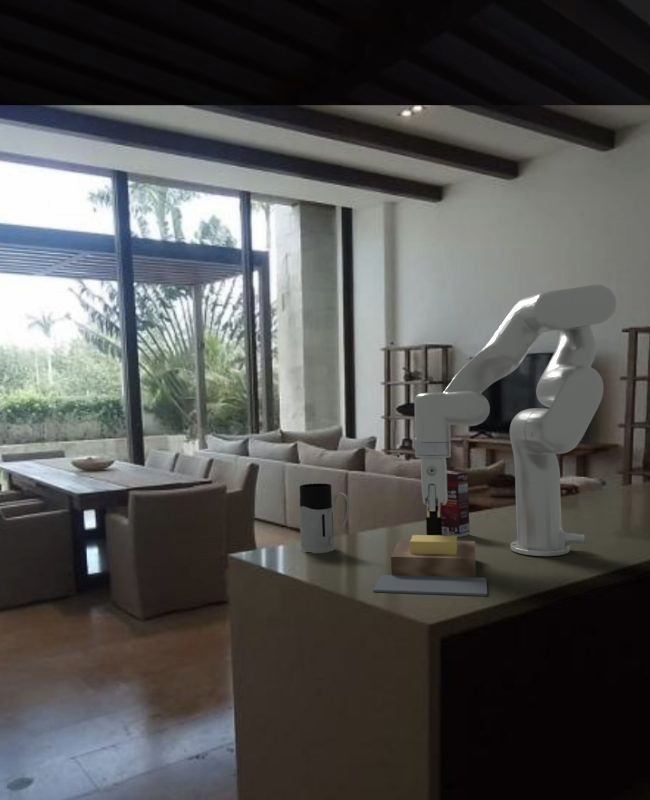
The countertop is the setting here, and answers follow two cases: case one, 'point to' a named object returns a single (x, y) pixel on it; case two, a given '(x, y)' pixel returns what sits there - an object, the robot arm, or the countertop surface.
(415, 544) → the yellow block
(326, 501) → the glass holder
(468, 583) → the mat
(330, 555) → the countertop surface
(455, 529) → the supplement box
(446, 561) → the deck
